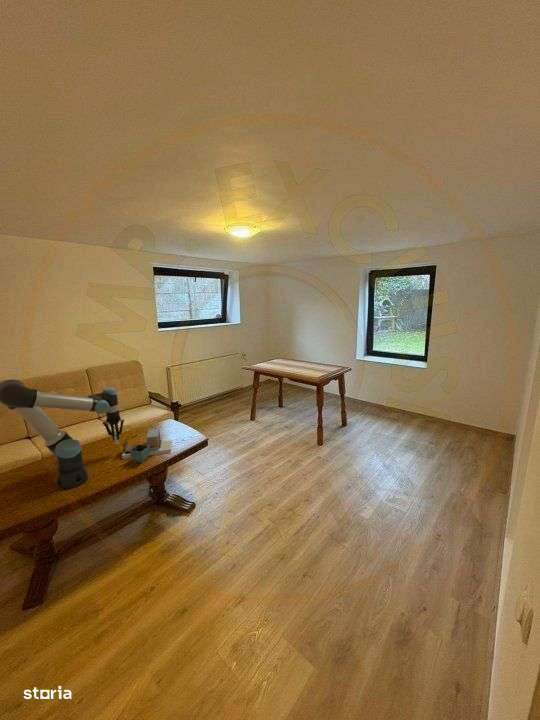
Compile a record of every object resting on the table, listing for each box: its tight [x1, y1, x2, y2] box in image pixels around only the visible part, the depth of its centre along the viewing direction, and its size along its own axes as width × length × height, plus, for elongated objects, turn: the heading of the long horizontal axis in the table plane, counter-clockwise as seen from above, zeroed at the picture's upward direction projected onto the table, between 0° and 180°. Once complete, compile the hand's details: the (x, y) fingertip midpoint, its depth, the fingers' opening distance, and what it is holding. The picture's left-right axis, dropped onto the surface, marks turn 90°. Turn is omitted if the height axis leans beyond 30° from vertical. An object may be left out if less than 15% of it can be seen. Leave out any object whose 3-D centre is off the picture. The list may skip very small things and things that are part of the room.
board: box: [121, 439, 173, 460], centre depth 201 cm, size 30×14×3 cm, turn 106°
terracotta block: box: [149, 435, 159, 447], centre depth 201 cm, size 6×6×6 cm
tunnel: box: [146, 428, 161, 451], centre depth 201 cm, size 7×12×10 cm, turn 16°
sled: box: [122, 438, 162, 453], centre depth 199 cm, size 23×8×6 cm, turn 106°
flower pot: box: [130, 443, 150, 464], centre depth 187 cm, size 9×9×9 cm
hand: (116, 444), depth 195 cm, fingers closed
